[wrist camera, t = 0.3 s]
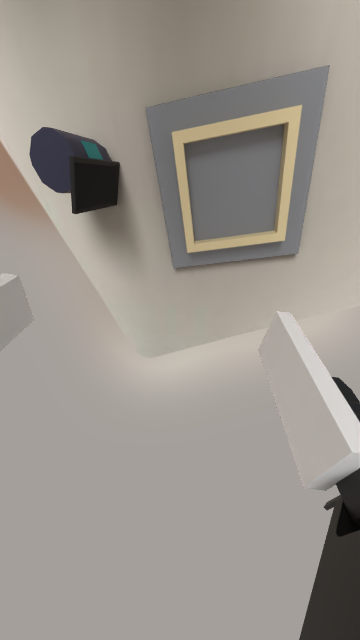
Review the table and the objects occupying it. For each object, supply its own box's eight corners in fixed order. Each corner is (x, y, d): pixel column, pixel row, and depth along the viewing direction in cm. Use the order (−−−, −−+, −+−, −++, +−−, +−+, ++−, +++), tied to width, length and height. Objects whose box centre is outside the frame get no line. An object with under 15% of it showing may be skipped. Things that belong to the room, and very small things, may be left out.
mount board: (147, 109, 26) (142, 104, 24) (325, 68, 23) (337, 59, 21) (174, 266, 37) (172, 271, 35) (295, 251, 34) (301, 256, 32)
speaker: (133, 166, 29) (95, 165, 21) (116, 205, 32) (78, 217, 24) (83, 126, 28) (20, 107, 19) (71, 171, 31) (13, 171, 23)
